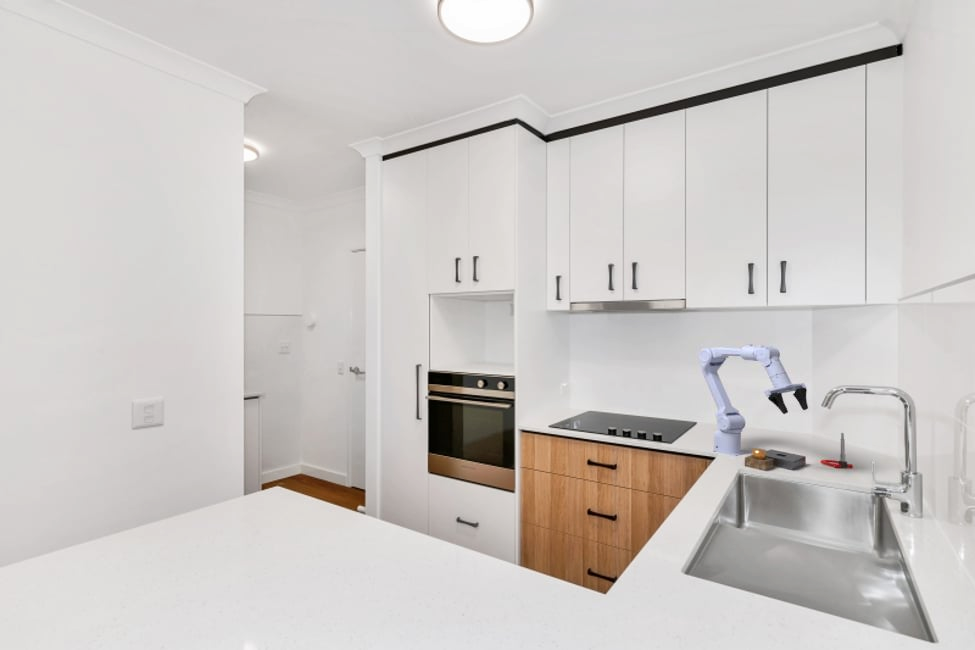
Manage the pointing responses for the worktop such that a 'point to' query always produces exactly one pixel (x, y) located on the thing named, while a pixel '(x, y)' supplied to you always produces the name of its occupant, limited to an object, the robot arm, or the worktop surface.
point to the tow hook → (842, 462)
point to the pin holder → (759, 463)
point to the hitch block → (786, 459)
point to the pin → (759, 454)
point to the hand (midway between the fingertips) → (795, 411)
